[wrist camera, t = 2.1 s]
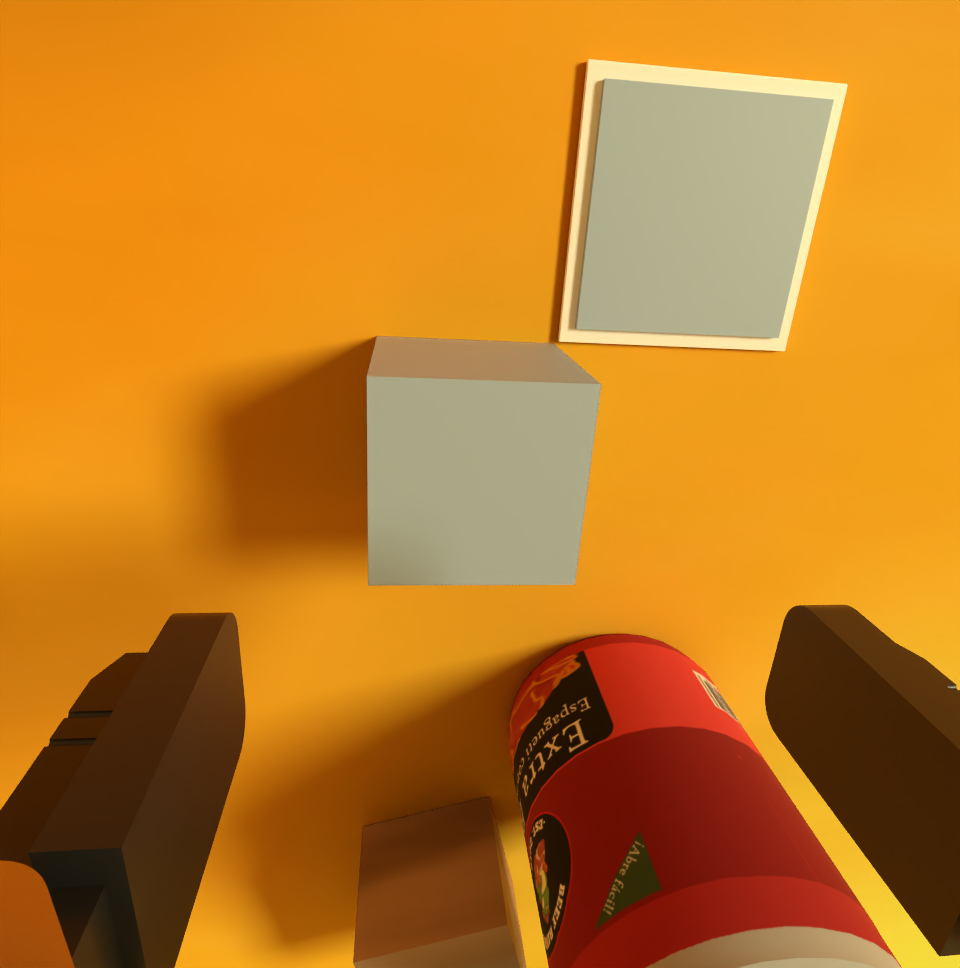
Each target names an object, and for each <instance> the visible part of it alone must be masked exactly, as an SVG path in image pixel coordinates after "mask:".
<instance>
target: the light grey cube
mask: <svg viewBox="0 0 960 968" xmlns="http://www.w3.org/2000/svg"><path fill="white" fill-rule="evenodd" d="M600 390H601V384H600V383H599V382H598V381H597V380H596V379H594V378H593V377H592V376H591V375H590V374H589V373H587V372H586V371H585V370H584V369H583V368H582V367H581V366H579V365H578V364H577V363H576V362H575V361H574V360H572V359H571V358H570V357H569V356H568V355H567V354H565V353H564V352H563V351H562V350H561V349H560V348H558V347H557V346H556V345H555V344H554V343H532V342H508V341H484V340H460V339H436V338H412V337H388V336H377V338H376V342H375V346H374V350H373V354H372V358H371V361H370V365H369V369H368V373H367V483H368V585H575V579H576V572H577V564H578V557H579V549H580V542H581V534H582V526H583V519H584V511H585V504H586V496H587V489H588V481H589V474H590V466H591V458H592V451H593V443H594V436H595V428H596V421H597V413H598V405H599V398H600Z"/></svg>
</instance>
